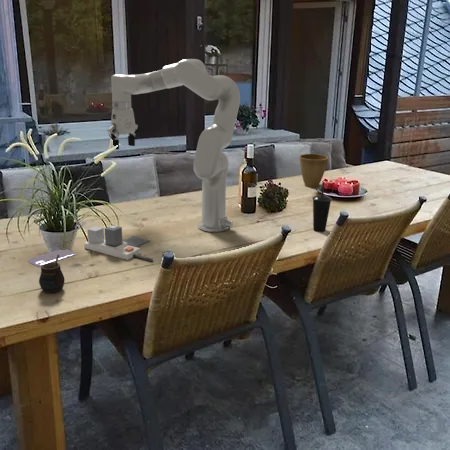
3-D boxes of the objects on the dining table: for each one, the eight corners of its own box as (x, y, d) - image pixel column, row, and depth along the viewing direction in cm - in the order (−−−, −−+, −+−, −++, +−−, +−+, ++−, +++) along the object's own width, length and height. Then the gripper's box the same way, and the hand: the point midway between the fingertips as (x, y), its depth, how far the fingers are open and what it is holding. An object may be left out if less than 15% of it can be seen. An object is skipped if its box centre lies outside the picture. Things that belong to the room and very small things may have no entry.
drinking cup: (330, 228, 214) (334, 181, 207) (327, 234, 207) (331, 186, 200) (311, 226, 216) (315, 179, 209) (308, 231, 209) (312, 184, 202)
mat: (149, 241, 195) (149, 240, 195) (135, 247, 189) (135, 246, 189) (132, 236, 199) (132, 236, 199) (118, 243, 193) (118, 242, 192)
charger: (122, 245, 185) (121, 226, 183) (114, 249, 182) (113, 229, 179) (113, 243, 187) (112, 224, 185) (105, 246, 184) (104, 227, 181)
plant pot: (294, 182, 285) (296, 153, 280) (320, 182, 287) (323, 153, 282) (301, 189, 271) (303, 159, 266) (328, 189, 273) (331, 159, 268)
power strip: (159, 258, 180) (159, 239, 177) (146, 265, 174) (146, 246, 172) (98, 242, 193) (97, 224, 191) (84, 248, 187) (83, 230, 185)
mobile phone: (77, 253, 181) (38, 265, 171) (77, 255, 182) (38, 268, 171) (64, 247, 186) (26, 259, 175) (65, 249, 186) (26, 261, 176)
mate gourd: (34, 293, 153) (31, 262, 150) (48, 283, 160) (45, 253, 157) (57, 296, 151) (54, 264, 148) (69, 285, 158) (67, 255, 155)
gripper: (114, 108, 202) (116, 151, 208) (142, 104, 216) (144, 145, 222) (100, 106, 206) (102, 149, 211) (129, 103, 220) (130, 143, 225)
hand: (123, 147), depth 217 cm, fingers open, 9 cm apart
